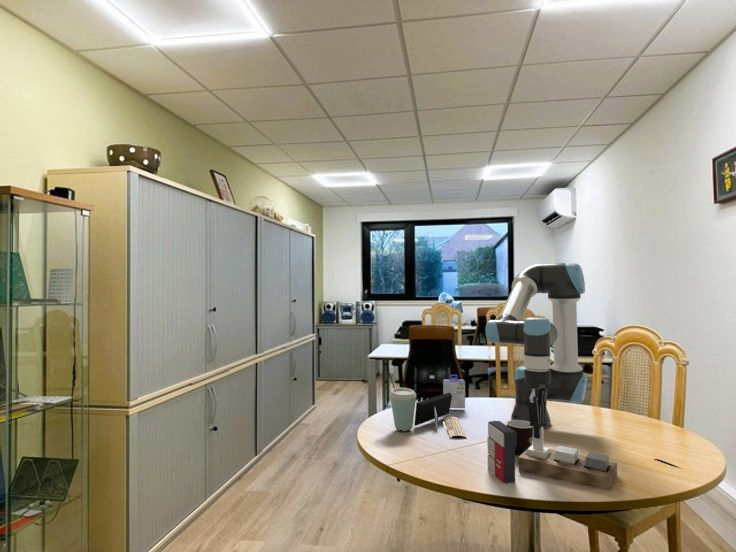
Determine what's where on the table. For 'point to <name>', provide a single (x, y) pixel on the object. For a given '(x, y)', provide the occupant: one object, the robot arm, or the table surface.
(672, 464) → the pen
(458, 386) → the ink cartridge box
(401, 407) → the disposable coffee cup
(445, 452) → the table surface
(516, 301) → the robot arm
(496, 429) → the grey and red box
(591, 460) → the key charcoal
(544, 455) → the key white
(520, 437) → the coffee mug
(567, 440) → the table surface
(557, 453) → the key grey
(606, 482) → the brown wooden block holder
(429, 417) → the picture frame
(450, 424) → the tan curved ridged slab
